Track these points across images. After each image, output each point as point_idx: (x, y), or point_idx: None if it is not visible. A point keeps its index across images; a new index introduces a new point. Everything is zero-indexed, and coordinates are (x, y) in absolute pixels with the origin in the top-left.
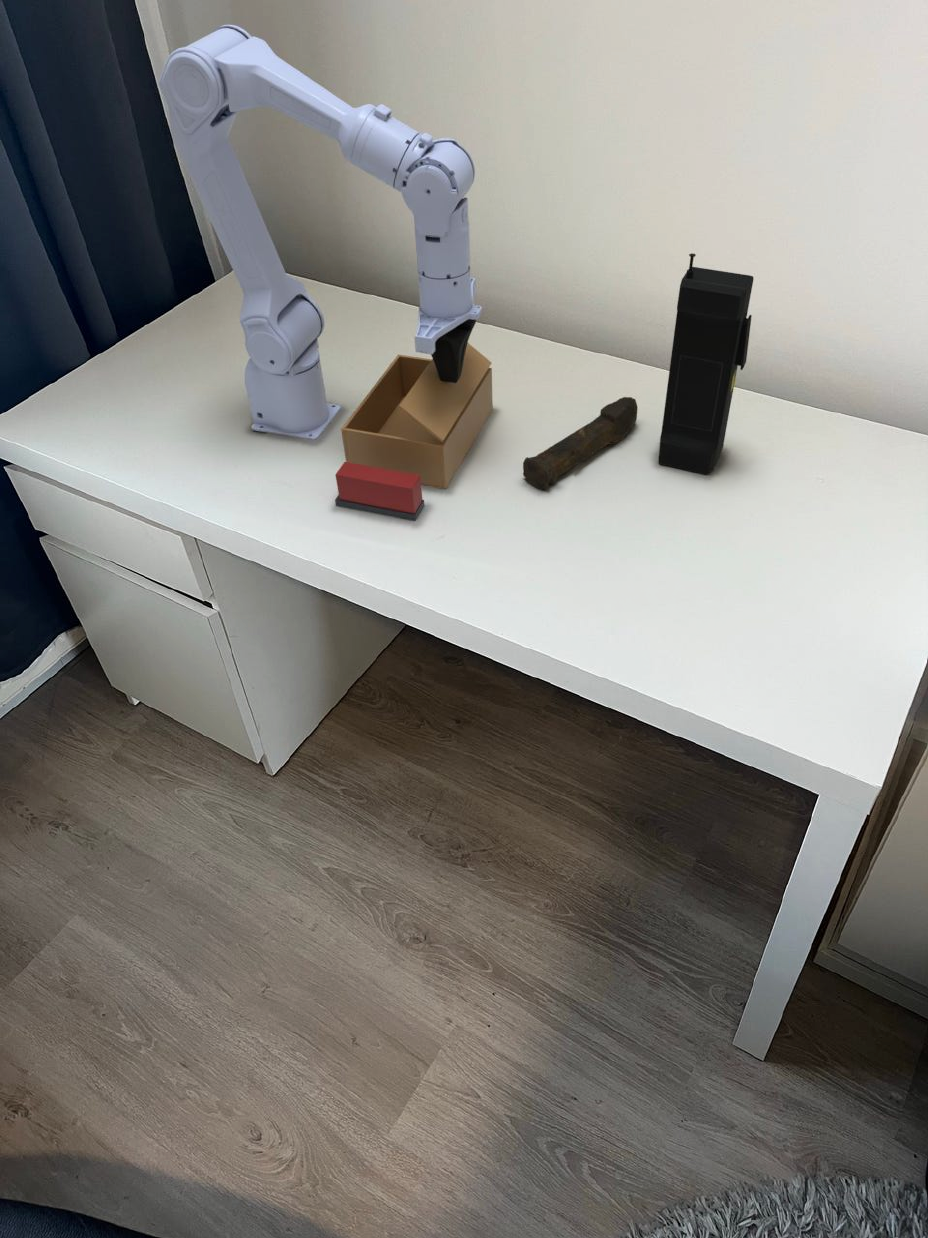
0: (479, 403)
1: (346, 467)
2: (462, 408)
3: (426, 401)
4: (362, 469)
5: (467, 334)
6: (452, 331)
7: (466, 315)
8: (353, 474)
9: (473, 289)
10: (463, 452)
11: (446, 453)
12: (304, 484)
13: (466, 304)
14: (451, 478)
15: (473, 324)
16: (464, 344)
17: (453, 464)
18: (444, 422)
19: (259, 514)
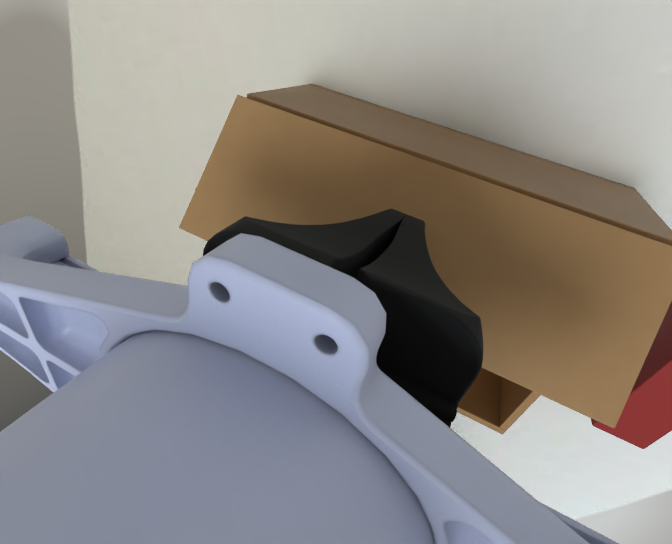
0: (366, 121)
1: (621, 428)
2: (487, 184)
3: (533, 320)
4: (644, 406)
5: (408, 289)
6: (383, 369)
7: (373, 411)
8: (661, 424)
9: (11, 245)
10: (503, 151)
11: (646, 219)
12: (523, 413)
13: (284, 487)
14: (595, 178)
15: (293, 245)
16: (364, 249)
17: (580, 180)
18: (595, 250)
19: (595, 474)
